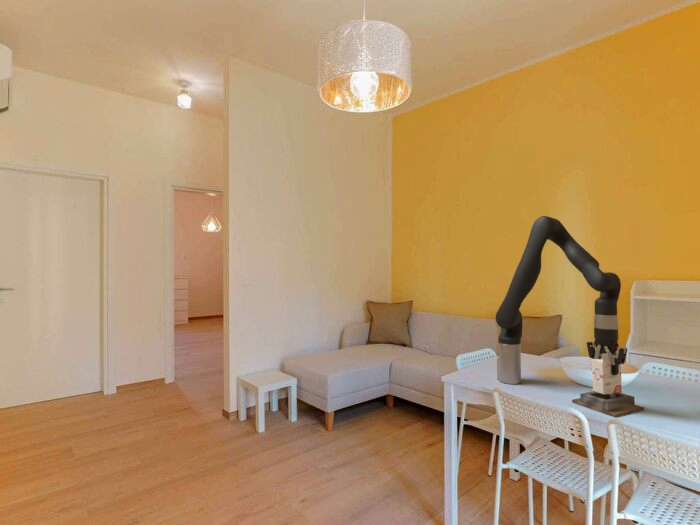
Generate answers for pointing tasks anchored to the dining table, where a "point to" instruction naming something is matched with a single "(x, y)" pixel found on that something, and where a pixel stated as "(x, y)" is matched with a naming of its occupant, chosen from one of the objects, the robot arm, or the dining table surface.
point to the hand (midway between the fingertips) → (606, 372)
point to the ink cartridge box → (605, 376)
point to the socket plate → (614, 412)
